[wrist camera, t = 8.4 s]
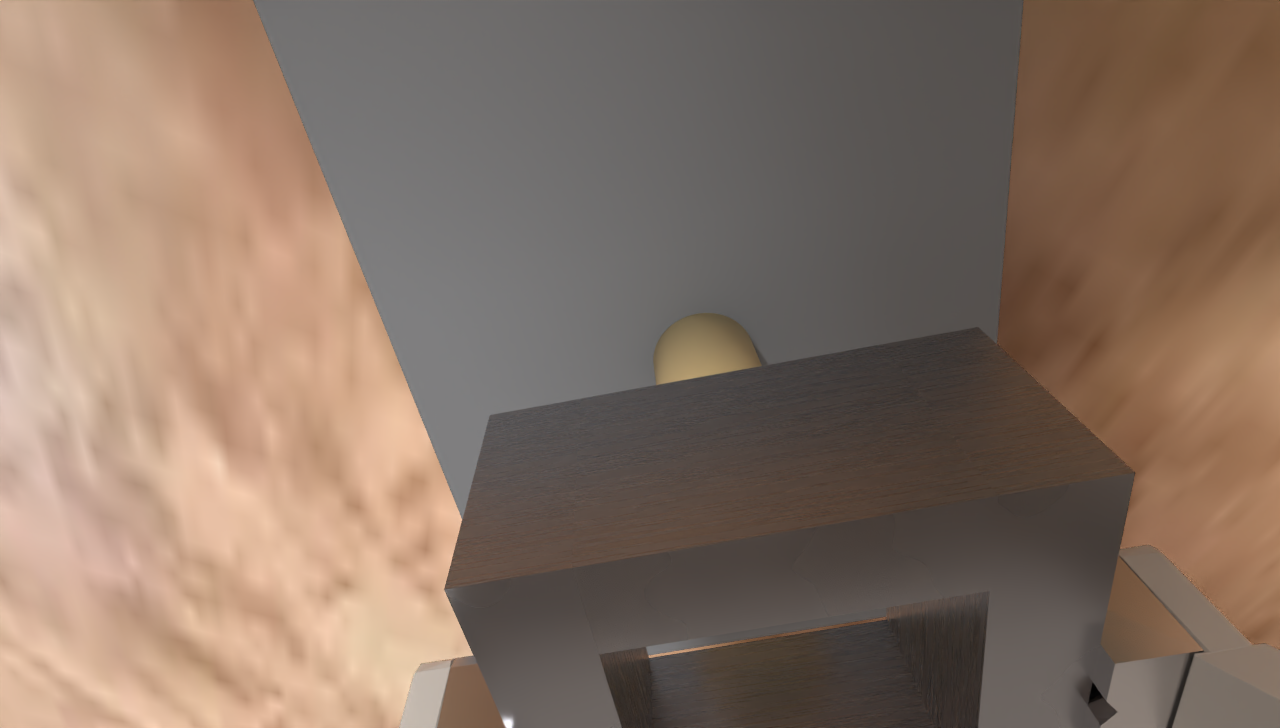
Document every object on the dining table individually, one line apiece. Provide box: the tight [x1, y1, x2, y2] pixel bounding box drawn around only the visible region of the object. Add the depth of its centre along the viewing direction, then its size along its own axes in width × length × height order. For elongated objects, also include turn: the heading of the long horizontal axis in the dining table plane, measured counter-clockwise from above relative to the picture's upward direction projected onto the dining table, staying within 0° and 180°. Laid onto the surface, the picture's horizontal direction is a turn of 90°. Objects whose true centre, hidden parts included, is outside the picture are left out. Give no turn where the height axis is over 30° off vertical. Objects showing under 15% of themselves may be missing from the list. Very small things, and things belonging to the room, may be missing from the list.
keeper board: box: [253, 0, 1023, 655], centre depth 15 cm, size 20×14×8 cm
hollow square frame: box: [444, 327, 1135, 728], centre depth 10 cm, size 7×7×3 cm
